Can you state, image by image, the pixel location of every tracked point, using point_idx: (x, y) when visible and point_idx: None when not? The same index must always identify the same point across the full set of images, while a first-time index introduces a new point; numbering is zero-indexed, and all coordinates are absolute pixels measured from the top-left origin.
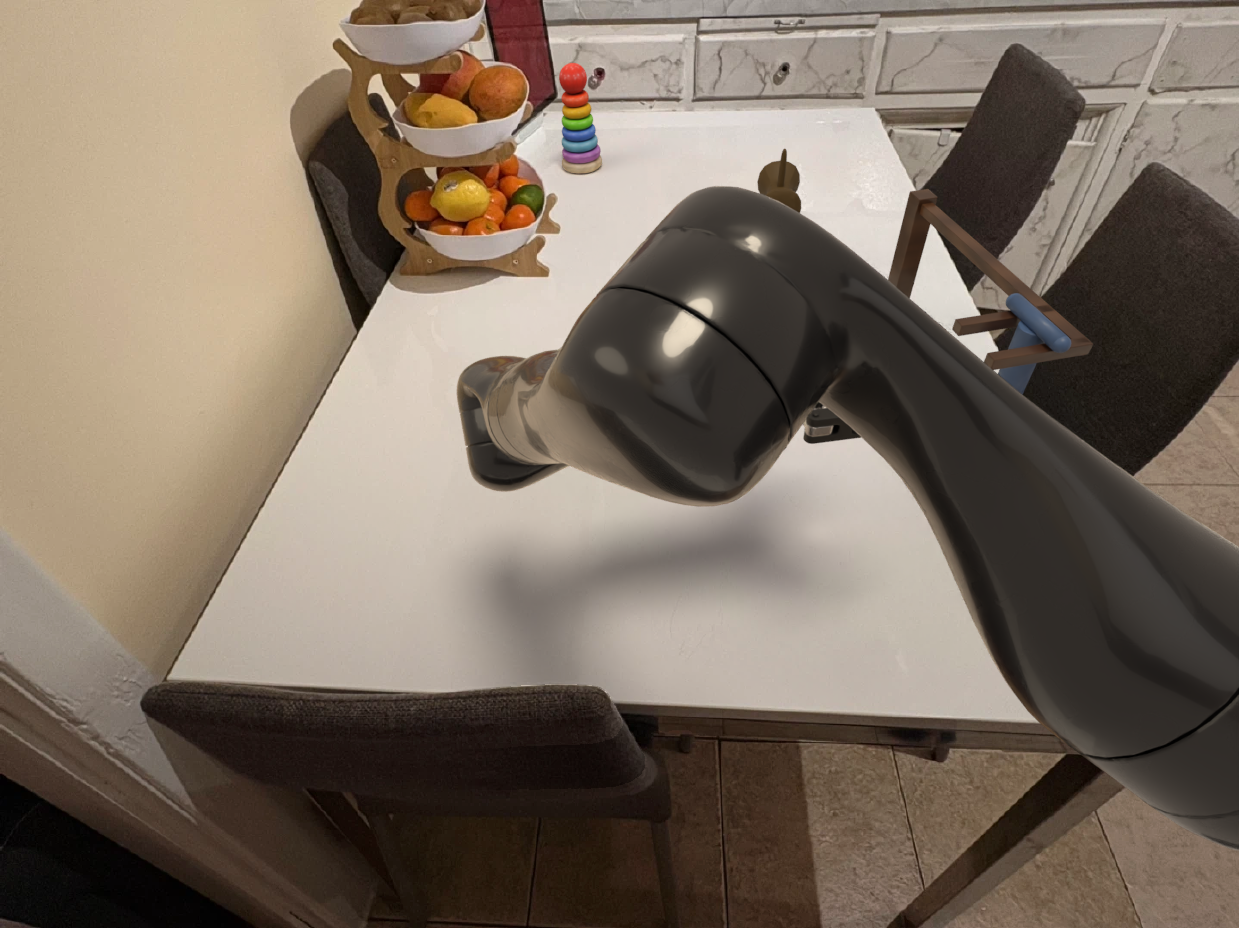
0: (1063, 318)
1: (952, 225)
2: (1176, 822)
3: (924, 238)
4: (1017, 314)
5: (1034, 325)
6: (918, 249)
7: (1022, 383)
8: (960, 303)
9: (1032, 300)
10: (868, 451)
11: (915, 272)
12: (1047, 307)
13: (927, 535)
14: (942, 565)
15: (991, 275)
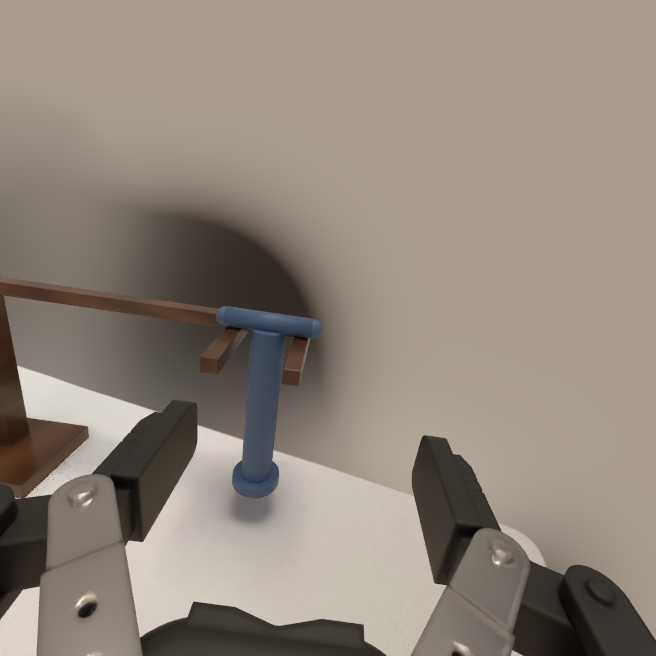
0: None
1: (51, 287)
2: None
3: (6, 322)
4: (245, 324)
5: (276, 324)
6: (5, 337)
7: (279, 390)
8: (64, 383)
9: None
10: (145, 599)
11: (15, 365)
12: None
13: (315, 615)
14: (364, 628)
15: (155, 312)
